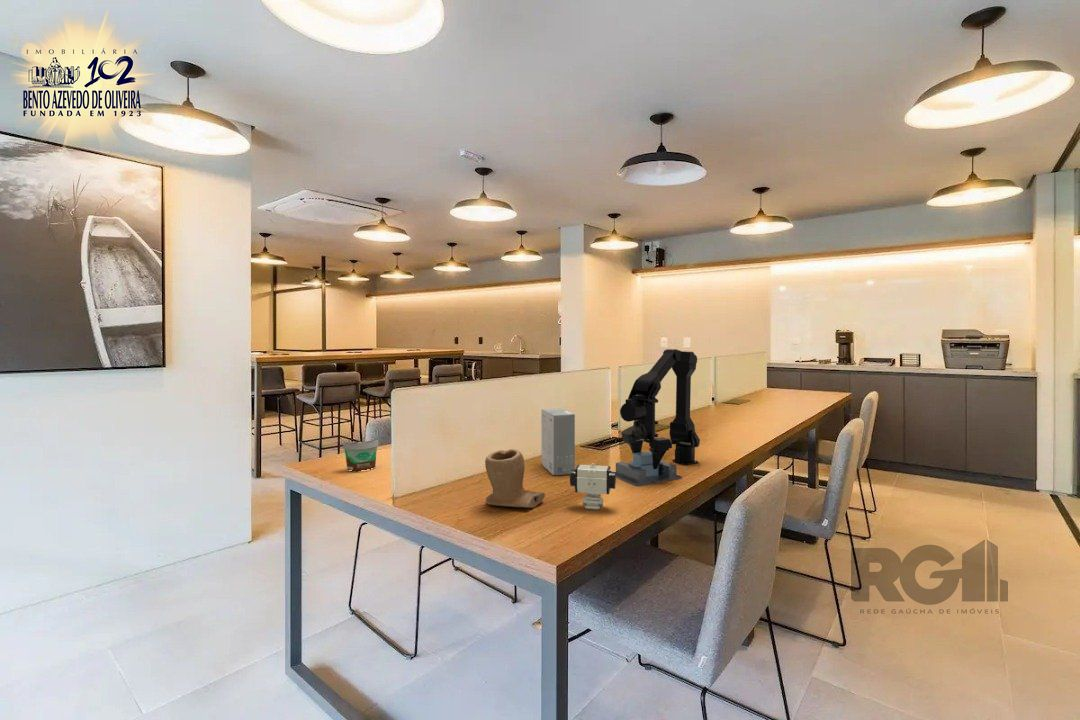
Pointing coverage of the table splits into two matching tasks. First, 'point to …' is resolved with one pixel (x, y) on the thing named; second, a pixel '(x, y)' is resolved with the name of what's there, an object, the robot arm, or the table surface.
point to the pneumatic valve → (593, 483)
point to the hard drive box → (558, 441)
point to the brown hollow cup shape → (509, 480)
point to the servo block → (644, 462)
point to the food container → (361, 455)
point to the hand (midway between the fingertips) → (645, 465)
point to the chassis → (638, 475)
